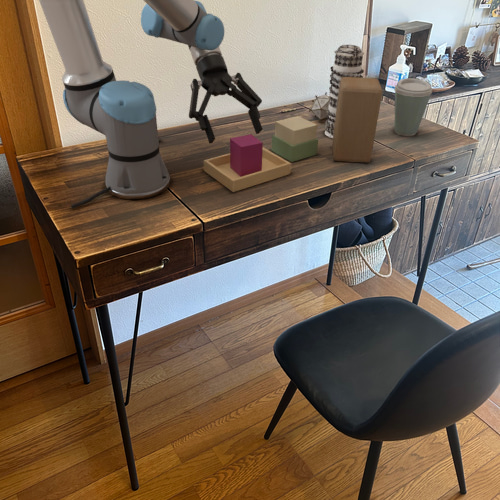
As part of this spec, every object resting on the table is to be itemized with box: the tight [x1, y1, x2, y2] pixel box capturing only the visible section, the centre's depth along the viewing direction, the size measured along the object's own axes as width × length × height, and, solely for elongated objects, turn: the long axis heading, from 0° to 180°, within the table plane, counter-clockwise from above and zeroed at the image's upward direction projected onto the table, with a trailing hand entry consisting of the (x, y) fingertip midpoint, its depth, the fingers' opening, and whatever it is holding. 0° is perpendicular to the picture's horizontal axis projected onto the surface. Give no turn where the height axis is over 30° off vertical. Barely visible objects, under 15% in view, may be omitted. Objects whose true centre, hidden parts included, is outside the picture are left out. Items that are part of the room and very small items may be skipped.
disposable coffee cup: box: [393, 77, 433, 137], centre depth 145 cm, size 11×11×15 cm
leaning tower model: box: [324, 44, 365, 139], centre depth 140 cm, size 9×9×25 cm
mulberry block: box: [229, 133, 264, 177], centre depth 122 cm, size 6×6×8 cm
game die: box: [308, 91, 331, 123], centre depth 154 cm, size 9×8×10 cm
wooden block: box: [331, 77, 383, 164], centre depth 129 cm, size 10×10×20 cm
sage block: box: [270, 134, 319, 163], centre depth 134 cm, size 9×9×4 cm
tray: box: [203, 146, 292, 193], centre depth 124 cm, size 18×14×3 cm
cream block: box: [274, 115, 318, 145], centre depth 132 cm, size 8×8×4 cm
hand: (236, 136), depth 124 cm, fingers open, 13 cm apart
